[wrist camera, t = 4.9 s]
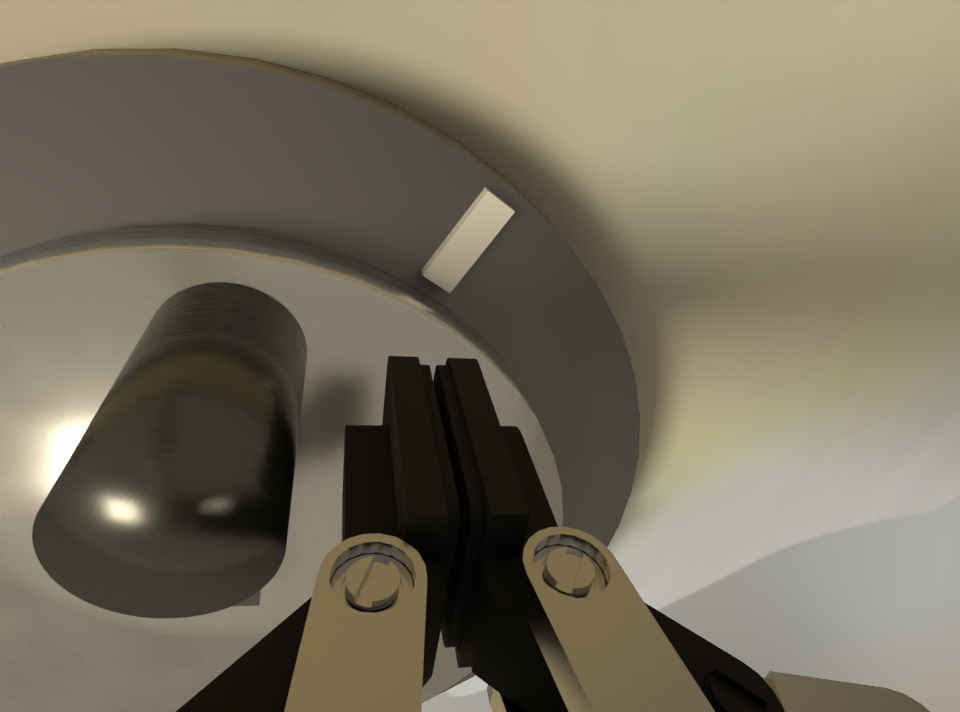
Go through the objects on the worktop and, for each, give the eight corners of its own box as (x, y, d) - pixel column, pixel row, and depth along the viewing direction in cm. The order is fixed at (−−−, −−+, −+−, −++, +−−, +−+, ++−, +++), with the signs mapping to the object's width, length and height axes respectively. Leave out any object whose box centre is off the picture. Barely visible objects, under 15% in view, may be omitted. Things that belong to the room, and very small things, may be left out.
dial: (480, 692, 23) (520, 906, 18) (-68, 734, 18) (-239, 1043, 13) (630, 280, 15) (797, 453, 9) (-339, 155, 10) (-1200, 366, 4)
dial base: (113, -292, 10) (54, -363, 8) (733, 441, 22) (770, 485, 20) (-447, 530, 15) (-562, 609, 13) (299, 749, 27) (295, 806, 25)
